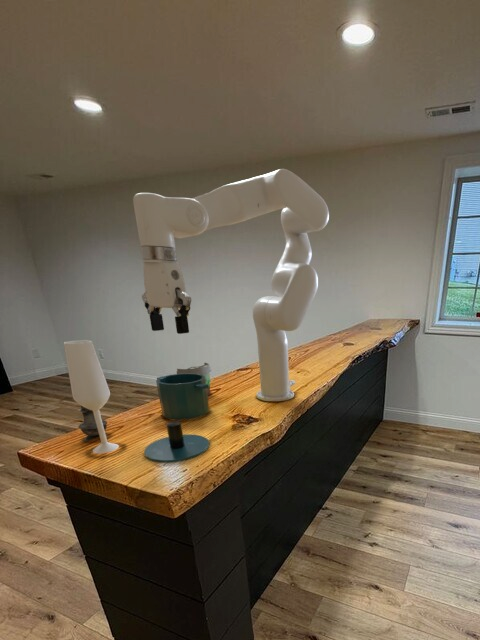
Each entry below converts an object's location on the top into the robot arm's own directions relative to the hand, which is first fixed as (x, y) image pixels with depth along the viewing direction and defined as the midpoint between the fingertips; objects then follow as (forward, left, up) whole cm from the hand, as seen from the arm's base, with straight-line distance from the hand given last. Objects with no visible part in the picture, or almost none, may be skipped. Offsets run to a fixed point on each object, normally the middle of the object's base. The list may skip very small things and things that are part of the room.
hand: (170, 331), depth 88 cm
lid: (+15, +16, -23) cm, 32 cm away
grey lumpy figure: (+20, -7, -24) cm, 32 cm away
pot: (-3, -2, -24) cm, 24 cm away
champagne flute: (+23, +2, -24) cm, 33 cm away
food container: (-18, -12, -24) cm, 32 cm away
